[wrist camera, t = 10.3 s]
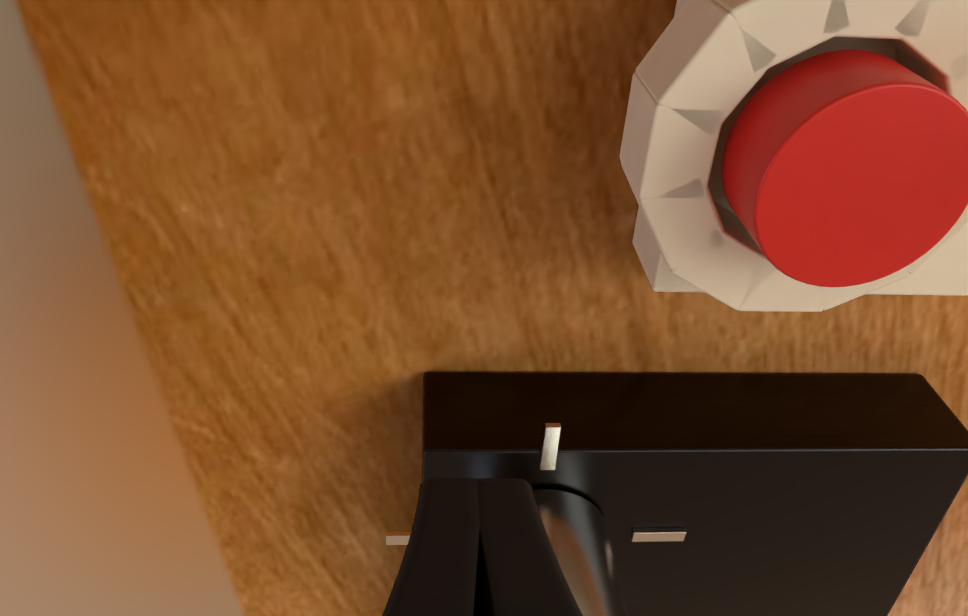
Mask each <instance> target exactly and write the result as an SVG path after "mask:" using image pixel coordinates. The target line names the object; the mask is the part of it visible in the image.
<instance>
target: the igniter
mask: <svg viewBox="0 0 968 616" xmlns="http://www.w3.org/2000/svg"><path fill="white" fill-rule="evenodd" d="M853 49H856V50H865V51H871V52H875V53H878V54H882V55H884V56H886V57H888V58H891V59H893V60H894V61H896V62H898V63H899V64H901V65H902V66H904V67H906V68H907V69H909V70H911V71H912V72H914V73H915V74H917V75H919V76H920V77H922V78H924V79H925V80H927V81H928V82H930V83H932V84H933V85H935V86H937V87H938V88H940V89H941V90H943V91H945V92H946V93H948V94H949V95H951V96H952V97H954V98H955V99H957V100H958V101H959V102H960V103H961V104H962V105H963V106H964V107H965V108H966V110H967V111H968V0H677V2H676V8H675V13H674V18H673V19H672V21H671V22H670V23H669V25H668V26H667V28H666V29H665V30H664V32H663V33H662V34H661V36H660V37H659V38H658V40H657V41H656V42H655V44H654V45H653V46H652V48H651V49H650V50H649V52H648V53H647V54H646V56H645V57H644V58H643V60H642V61H641V62H640V64H639V65H638V66H637V68H636V70H635V72H634V73H633V76H632V83H631V89H630V95H629V101H628V107H627V113H626V119H625V126H624V132H623V138H622V144H621V150H620V156H619V158H620V160H621V166H622V168H623V171H624V173H625V175H626V177H627V180H628V182H629V184H630V187H631V189H632V191H633V193H634V196H635V198H636V200H637V202H638V205H639V208H638V214H637V219H636V224H635V230H634V235H633V241H632V243H633V246H634V248H635V250H636V253H637V255H638V257H639V260H640V262H641V264H642V266H643V269H644V271H645V273H646V276H647V278H648V280H649V283H650V285H651V287H652V289H653V291H655V292H705V293H707V294H709V295H711V296H712V297H714V298H716V299H717V300H719V301H721V302H723V303H724V304H726V305H728V306H729V307H731V308H733V309H735V310H738V311H783V312H821V311H825V310H828V309H830V308H833V307H835V306H837V305H840V304H842V303H845V302H847V301H850V300H852V299H855V298H857V297H859V296H862V295H864V294H877V295H956V296H968V204H967V206H966V208H965V210H964V212H963V213H962V215H961V216H960V218H959V219H958V221H957V222H956V223H955V224H954V226H953V227H952V228H951V229H950V231H949V232H948V233H947V234H946V235H945V236H944V237H943V238H942V239H941V240H940V241H939V242H938V243H937V244H936V245H935V246H934V247H933V248H931V249H930V250H929V251H928V252H927V253H925V254H924V255H923V256H921V257H920V258H918V259H917V260H916V261H914V262H913V263H911V264H909V265H908V266H906V267H904V268H902V269H901V270H899V271H897V272H895V273H892V274H890V275H888V276H886V277H883V278H880V279H878V280H875V281H872V282H868V283H864V284H860V285H854V286H848V287H819V286H814V285H809V284H806V283H803V282H800V281H797V280H794V279H792V278H790V277H788V276H787V275H785V274H783V273H782V272H780V271H779V270H778V269H776V268H775V267H774V266H773V265H772V264H771V263H770V262H769V261H768V260H767V258H766V257H765V255H764V254H763V252H762V251H761V250H760V248H759V247H758V245H757V244H756V242H755V241H754V240H753V238H752V237H751V235H750V234H749V232H748V231H747V230H746V228H745V227H744V225H743V224H742V222H741V221H740V220H739V218H738V217H737V215H736V214H735V212H734V211H733V209H732V208H731V206H730V204H729V202H728V200H727V198H726V195H725V192H724V188H723V183H722V174H721V172H722V158H723V152H724V148H725V144H726V141H727V138H728V135H729V133H730V131H731V128H732V126H733V124H734V122H735V120H736V119H737V117H738V115H739V114H740V112H741V111H742V109H743V108H744V107H745V105H746V104H747V103H748V101H749V100H750V99H751V98H752V97H753V96H754V94H755V93H756V92H757V91H758V90H759V89H760V88H761V87H762V86H764V85H765V84H766V83H767V82H768V81H769V80H770V79H772V78H773V77H775V76H776V75H777V74H779V73H780V72H782V71H783V70H785V69H786V68H788V67H790V66H792V65H794V64H796V63H797V62H800V61H802V60H804V59H807V58H809V57H812V56H815V55H819V54H822V53H826V52H831V51H837V50H853Z"/></svg>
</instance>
